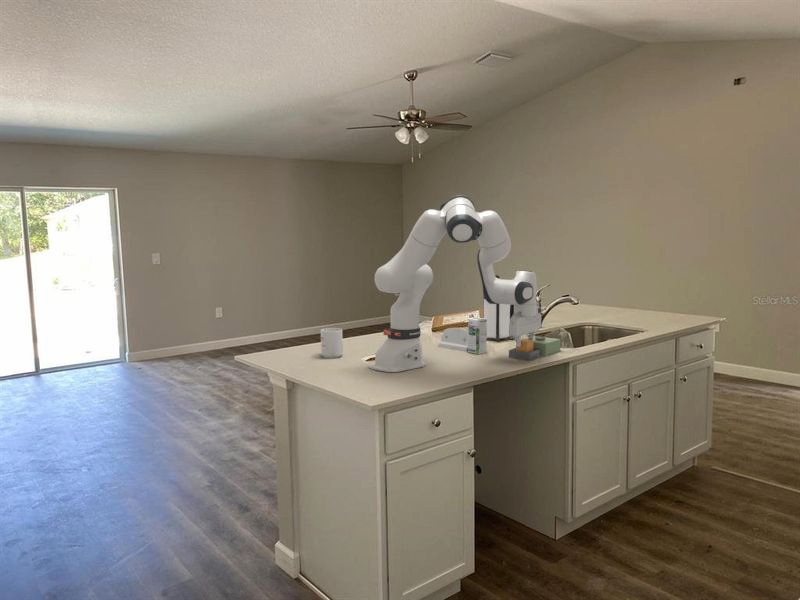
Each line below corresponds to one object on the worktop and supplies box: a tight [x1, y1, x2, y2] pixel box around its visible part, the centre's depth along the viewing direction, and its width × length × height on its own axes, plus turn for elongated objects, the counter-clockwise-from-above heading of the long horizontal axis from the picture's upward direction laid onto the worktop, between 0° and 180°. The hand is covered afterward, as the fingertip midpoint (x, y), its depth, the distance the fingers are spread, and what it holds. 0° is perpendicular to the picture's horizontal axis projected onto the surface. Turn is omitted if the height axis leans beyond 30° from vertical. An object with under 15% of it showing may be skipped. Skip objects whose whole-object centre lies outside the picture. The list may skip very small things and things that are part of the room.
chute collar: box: [508, 347, 541, 361], centre depth 244 cm, size 9×9×3 cm
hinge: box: [437, 327, 468, 353], centre depth 263 cm, size 17×5×10 cm, turn 45°
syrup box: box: [467, 317, 488, 355], centre depth 253 cm, size 6×6×14 cm
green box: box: [526, 335, 561, 357], centre depth 253 cm, size 13×12×6 cm
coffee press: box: [482, 274, 514, 343], centre depth 281 cm, size 17×16×30 cm
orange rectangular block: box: [515, 337, 533, 352], centre depth 243 cm, size 5×5×7 cm
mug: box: [320, 327, 344, 359], centre depth 250 cm, size 12×9×11 cm
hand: (524, 344), depth 243 cm, fingers open, 8 cm apart
